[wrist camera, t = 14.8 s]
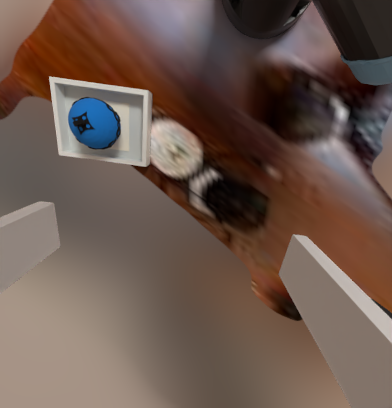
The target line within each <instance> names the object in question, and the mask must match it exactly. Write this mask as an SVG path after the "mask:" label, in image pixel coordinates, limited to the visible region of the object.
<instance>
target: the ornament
mask: <svg viewBox="0 0 392 408" xmlns="http://www.w3.org/2000/svg"><path fill="white" fill-rule="evenodd" d="M120 121H121V120H120V117H119V115H118V113H117V112H116V111H114V109H113V108H112V107H111V106H110V105H109V104H107V103H106V102H104V101H102V100H99V99H96V98H90V97H84V98H81V99H79V100H77V101H75V102H73V104H72V107H71V109H70V111H69V114H68V123H69V127H70V129H71V131H72V133H73V135H74V136H75V138H76V139H77V141H79V142H80V143H82V144H84V145H86V146H88V148H91V149H95V150H97V149H102V150H104V149H107V148H110V147H112V145H113V144H115V142H116V141H117V139H118V138H119V136H120V134H121V124H120Z"/></svg>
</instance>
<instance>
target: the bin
mask: <svg viewBox="0 0 392 408" xmlns="http://www.w3.org/2000/svg"><path fill="white" fill-rule="evenodd" d="M49 80H50V88H51V96H52V104H53V111H54V119H55V127H56V135H57V142H58V151H59V155H62V156H69V157H77V158H84V159H92V160H99V161H106V162H114V163H121V164H129V165H136V166H144V167H146V166H148V165H150V143H151V118H152V93H151V92H149V91H148V90H141V89H134V88H127V87H120V86H113V85H105V84H98V83H91V82H84V81H77V80H70V79H63V78H56V77H49ZM84 97H90V98H96V99H99V100H102V101H104V102H106V103H107V104H109V105H110V106H111V107H112V108H113V109H114V111H116V112H117V113H118V115H119V117H120V120H121V121H120V124H121V134H120V136H119V138H118V139H117V141H116V142H115V144H113V145H112V147H110V148H107V149H104V150H102V149H97V150H95V149H91V148H88V146H86V145H84V144H82V143H80V142H79V141H77V139H76V138H75V136H74V135H73V133H72V131H71V129H70V127H69V123H68V114H69V111H70V109H71V107H72V104H73V102H75V101H77V100H79V99H81V98H84Z"/></svg>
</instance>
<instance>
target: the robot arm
mask: <svg viewBox="0 0 392 408" xmlns="http://www.w3.org/2000/svg"><path fill="white" fill-rule="evenodd" d="M311 1H313V3H314V5H315V6H316V8H317V10H318V12H319V14H320V16H321V18H322V20H323V21H324V23H325V25H326V27H327V29H328V31H329V33H330V34H331V36H332V38H333V40H334V42H335V44H336V46H337V47H338V49H339V51H340V53H341V56H340V57H341V59H342V61H343V62H344V63H346V64H348V66H349V67H350V69H351V70H352V72H353V74H354V75H355V77H356V78H357V79H358V80H359V81H360V82H362V83H365V84H371V85H382V84H389V83H392V0H222V2H223V6H224V9H225V11H226V14H227V16H228V17H229V19H230V21H231V22H232V24H233V25H234V26H235V27H236V28H237V29H238V30H239V31H240V32H242V33H243V34H245V35H247V36H249V37H253V38H258V39H265V38H271V37H274V36H277V35H279V34H281V33H283V32H284V31H286V30H287V29H288V28H290V27H291V26H292V25H293V24H294V23H295V22H296V21H297V20H298V19H299V17H300V16H301V15H302V14H303V13H304V11H305V10H306V9H307V7H308V6H309V4H310V3H311ZM59 247H60V240H59V234H58V227H57V220H56V214H55V207H54V203H49V202H41V201H39V202H37V203H34V204H32V205H29V206H27V207H24V208H22V209H20V210H17V211H15V212H12V213H10V214H7V215H5V216H2V217H0V293H2V292H3V291H4V290H6V289H7V288H8V287H9V286H11V285H12V284H13V283H14V282H16V281H17V280H18V279H20V278H21V277H22V276H23V275H25V274H26V273H27V272H28V271H30V270H31V269H32V268H33V267H35V266H36V265H37V264H39V263H40V262H41V261H42V260H44V259H45V258H46V257H48V256H49V255H50V254H51V253H53V252H54V251H55V250H56V249H58V248H59ZM279 276H280V278H281V280H282V281H283V283H284V285H285V287H286V289H287V291H288V292H289V294H290V296H291V298H292V300H293V302H294V303H295V305H296V307H297V309H298V311H299V313H300V314H301V316H302V318H303V320H304V322H305V323H306V325H307V327H308V329H309V331H310V333H311V334H312V336H313V338H314V340H315V342H316V344H317V345H318V347H319V349H320V351H321V353H322V355H323V356H324V358H325V360H326V362H327V364H328V366H329V367H330V369H331V371H332V373H333V375H334V377H335V378H336V380H337V382H338V384H339V386H340V387H341V389H342V391H343V393H344V395H345V397H346V398H347V400H348V402H349V404H350V406H351V407H352V408H392V313H391V312H390V311H388V310H387V309H386V308H384V307H383V306H381V305H380V304H378V303H377V302H376V301H374V300H373V299H370V298H369V297H368V296H367V295H366V294H365V293H364V292H363V291H362V290H361V289H360V288H359V287H358V286H357V285H356V284H355V283H354V282H353V281H352V280H351V279H350V278H349V277H348V276H347V275H346V274H345V273H344V272H343V271H342V270H341V269H340V268H339V267H338V266H337V265H335V264H334V263H333V262H332V261H331V260H330V259H329V258H328V257H327V256H326V255H325V254H324V253H323V252H322V251H321V250H320V249H319V248H318V247H317V246H316V245H315V244H314V243H313V242H312V241H311V240H310V239H309V238H308V237H307V236H301V235H294V234H293V235H292V238H291V241H290V243H289V246H288V249H287V252H286V255H285V258H284V260H283V263H282V266H281V269H280V272H279Z"/></svg>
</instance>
